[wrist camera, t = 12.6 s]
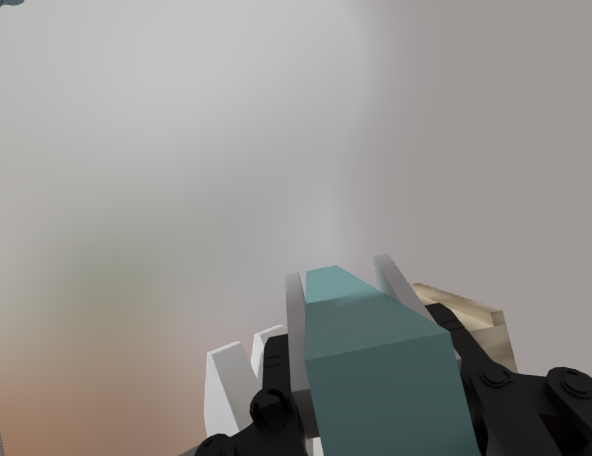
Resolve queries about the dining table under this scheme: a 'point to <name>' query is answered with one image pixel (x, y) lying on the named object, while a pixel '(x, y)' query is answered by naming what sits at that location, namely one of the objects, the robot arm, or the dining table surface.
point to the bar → (381, 374)
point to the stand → (475, 322)
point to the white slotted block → (236, 385)
